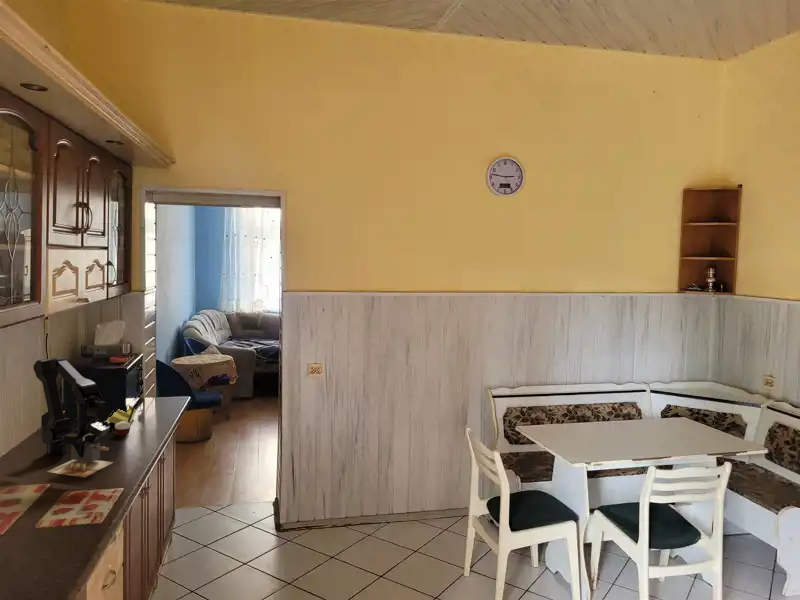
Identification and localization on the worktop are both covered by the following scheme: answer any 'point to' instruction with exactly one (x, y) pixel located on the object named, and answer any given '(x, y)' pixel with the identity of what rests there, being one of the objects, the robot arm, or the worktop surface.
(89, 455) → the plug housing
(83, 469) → the header pins
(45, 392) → the robot arm
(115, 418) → the plastic component
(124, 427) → the cocoa
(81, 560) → the worktop surface
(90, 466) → the birch board
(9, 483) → the worktop surface
